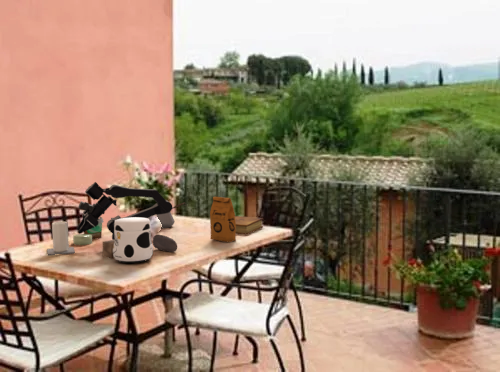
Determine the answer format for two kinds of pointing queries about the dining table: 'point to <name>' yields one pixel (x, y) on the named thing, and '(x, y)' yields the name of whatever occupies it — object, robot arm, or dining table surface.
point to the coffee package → (222, 220)
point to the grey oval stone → (164, 243)
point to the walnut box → (108, 249)
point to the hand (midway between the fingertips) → (78, 231)
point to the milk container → (132, 240)
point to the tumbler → (60, 236)
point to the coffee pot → (167, 218)
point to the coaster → (52, 252)
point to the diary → (247, 224)
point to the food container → (96, 230)
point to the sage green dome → (82, 239)
